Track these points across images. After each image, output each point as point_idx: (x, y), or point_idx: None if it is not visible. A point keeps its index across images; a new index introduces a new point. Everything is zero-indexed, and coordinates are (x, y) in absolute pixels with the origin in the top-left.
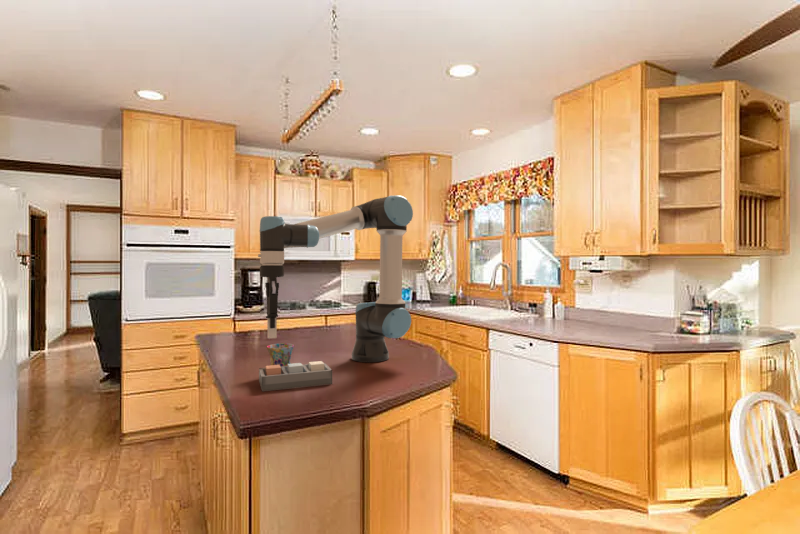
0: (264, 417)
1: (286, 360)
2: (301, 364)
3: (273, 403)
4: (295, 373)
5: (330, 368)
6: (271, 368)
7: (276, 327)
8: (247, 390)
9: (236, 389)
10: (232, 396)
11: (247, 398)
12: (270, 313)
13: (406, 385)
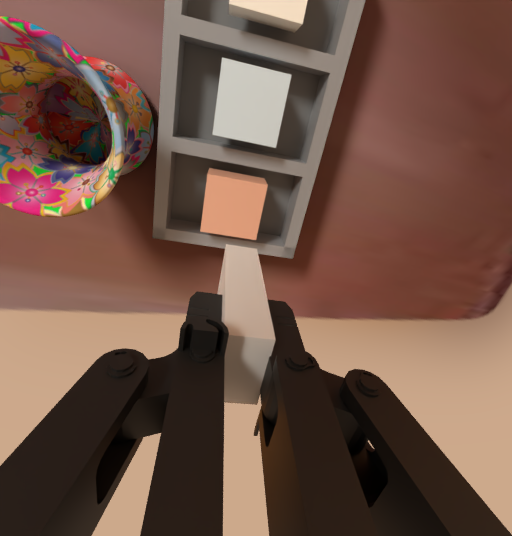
0: (484, 281)
1: (118, 107)
2: (263, 71)
3: (411, 240)
4: (323, 134)
5: None
6: (259, 222)
7: (263, 285)
8: None
9: None
10: None
11: (324, 284)
12: (371, 454)
13: None
